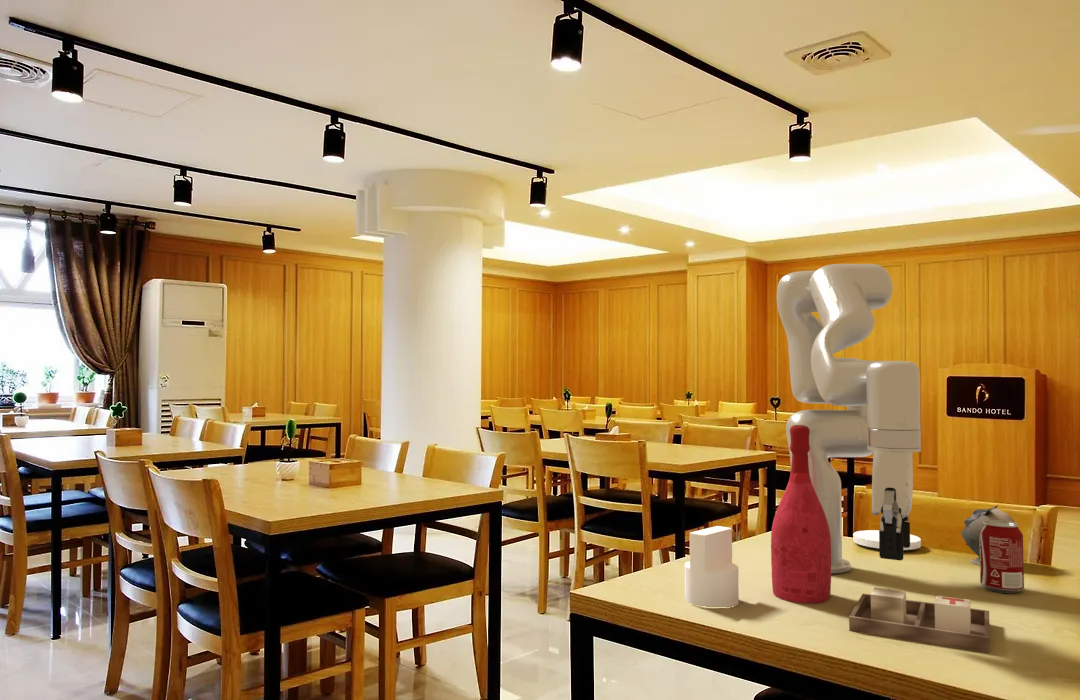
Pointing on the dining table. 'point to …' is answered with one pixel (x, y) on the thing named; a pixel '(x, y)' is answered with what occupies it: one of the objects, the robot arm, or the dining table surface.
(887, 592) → the plain cube
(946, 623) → the letter cube
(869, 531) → the plastic lid
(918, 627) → the organiser
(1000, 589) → the soda can
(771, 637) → the dining table surface
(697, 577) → the cylinder with rectangular tab
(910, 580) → the dining table surface
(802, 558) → the wine bottle
